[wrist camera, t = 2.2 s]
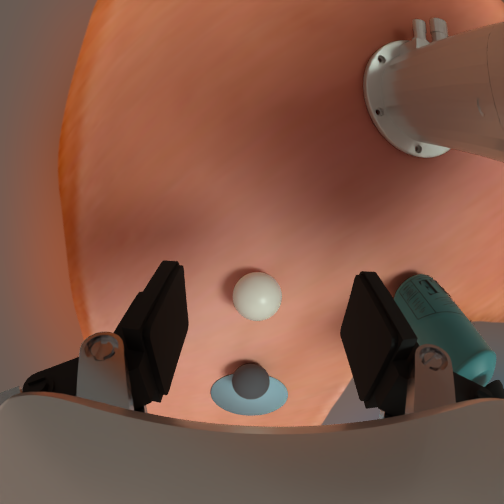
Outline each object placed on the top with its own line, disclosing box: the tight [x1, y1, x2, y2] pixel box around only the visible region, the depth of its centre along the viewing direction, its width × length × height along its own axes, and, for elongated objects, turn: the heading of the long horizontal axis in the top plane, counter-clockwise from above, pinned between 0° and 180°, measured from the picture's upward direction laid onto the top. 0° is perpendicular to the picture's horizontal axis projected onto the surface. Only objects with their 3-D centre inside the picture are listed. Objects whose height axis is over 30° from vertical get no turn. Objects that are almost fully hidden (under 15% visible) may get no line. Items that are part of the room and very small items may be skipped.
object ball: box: [232, 364, 270, 399], centre depth 34 cm, size 5×5×5 cm
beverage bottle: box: [394, 274, 504, 399], centre depth 21 cm, size 6×7×20 cm
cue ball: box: [233, 272, 282, 321], centre depth 28 cm, size 5×5×5 cm
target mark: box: [211, 374, 288, 415], centre depth 39 cm, size 12×12×1 cm
